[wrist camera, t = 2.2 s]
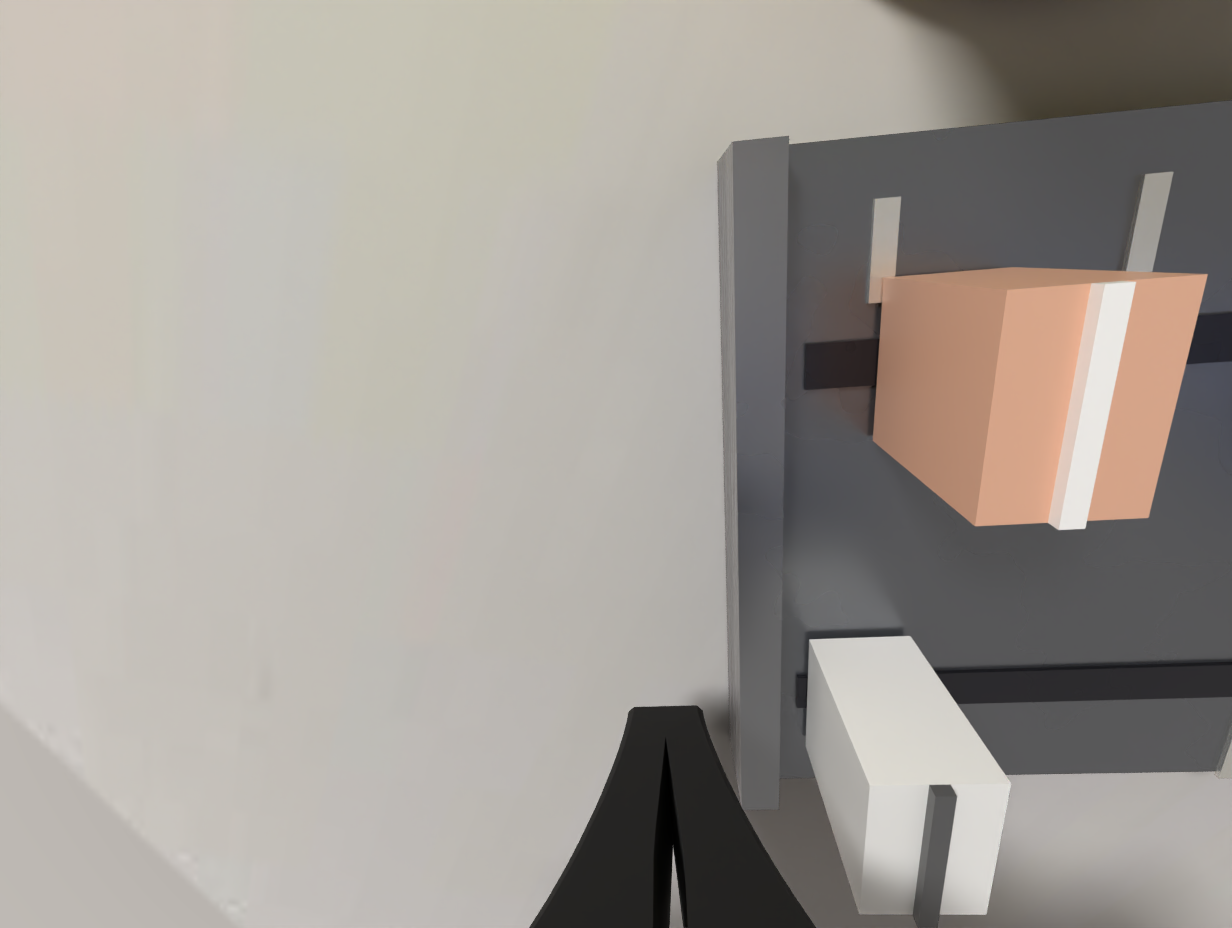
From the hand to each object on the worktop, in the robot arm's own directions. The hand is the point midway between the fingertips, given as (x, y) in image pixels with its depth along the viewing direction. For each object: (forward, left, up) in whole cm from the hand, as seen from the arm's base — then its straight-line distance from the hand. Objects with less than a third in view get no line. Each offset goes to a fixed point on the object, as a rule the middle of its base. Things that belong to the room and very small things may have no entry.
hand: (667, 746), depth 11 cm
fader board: (-8, -4, -3) cm, 9 cm away
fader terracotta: (-5, -7, -1) cm, 9 cm away
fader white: (-4, 0, -1) cm, 4 cm away
